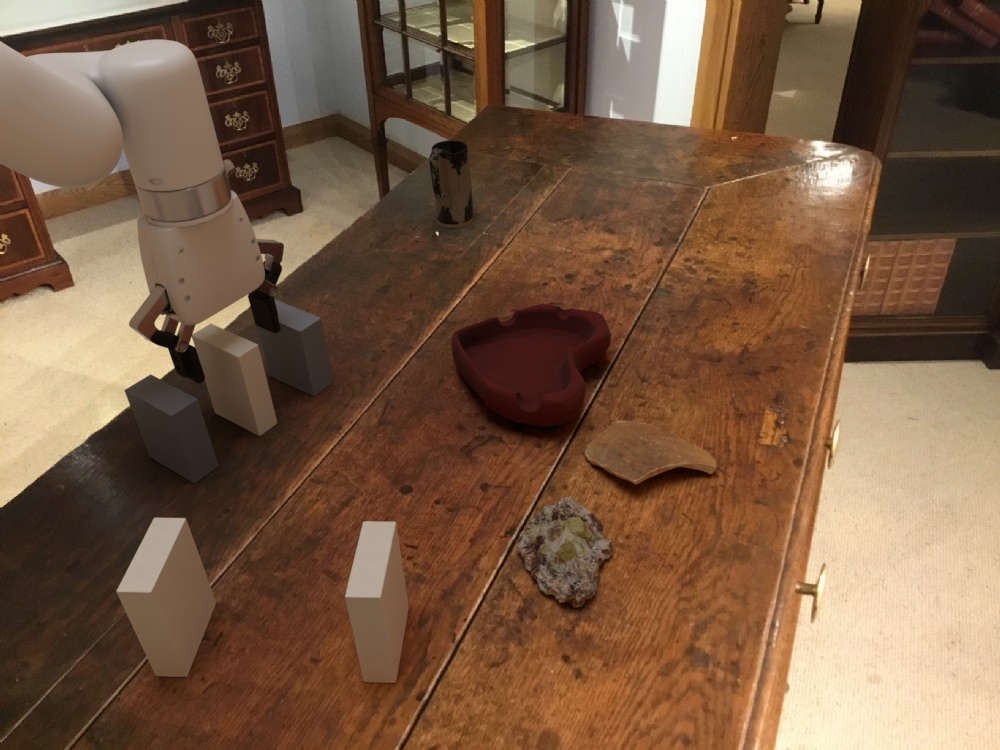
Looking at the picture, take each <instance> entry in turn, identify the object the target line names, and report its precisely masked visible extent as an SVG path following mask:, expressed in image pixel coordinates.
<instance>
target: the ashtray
mask: <svg viewBox="0 0 1000 750" xmlns="http://www.w3.org/2000/svg"><path fill="white" fill-rule="evenodd" d="M611 339H612V335H611V331H610V327H609V325H608V322H607V320H606V318H605V317H604V315H603V314H601V313H599V312H597V311H594V310H593V311H592V310H586V309H577V308H570V309H564V308H561V307H560V306H559V305H554V304H549V303H539V304H535V305H532V306H528V307H525V308H520V309H518V310H515V311H514V312H513V314H512V316H511V318H509V319H508V320H505V321H501V320H500V319H499V317H498V316H493V317H491V318H488V319H485V320H482V321H478V322H476V323H473V324H470V325H467V326H465V327H461V328H460V329H458V330H456V331H454V332H453V333H452V336H451V352H452V359H453V362H454V365H455V368H456V370H457V373H458V374H459V376H461V377H462V379H463V380H464V381H465V382H466V383H467V384H468V385H469V386H470V388H472V390H473V391H474V392H475V394H477V395H478V396H479V397H480V398H481V400H482V401H483V403H484V404H485V405H486V407H487V408H489V409H490V410H491V411H493V412H494V413H496V414H497V415H499V416H501V417H503V418H505V419H507V420H509V421H512V422H514V423H518V424H524V425H530V426H534V428H535V429H537V430H538V431H541V432H546V433H548V432H555V431H557V430H559V429H561V427H562V425H565V424H566V423H568V422H570V421H572V420H573V419H575V418H576V417H577V416H578V415H579V413H580V412H581V410H582V409H583V406H584V401H585V398H586V382H585V379H584V377H583V376H582V374H581V373H582V372H583V371H584V369H586V368H587V367H589V366H591V365H593V364H595V363H597V362H598V361H599V360H601V359H602V358H603V356H605V354H606V353H607V351H608V350H609V348H610V346H611Z"/></svg>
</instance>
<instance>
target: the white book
mask: <svg viewBox="0 0 1000 750" xmlns="http://www.w3.org/2000/svg"><path fill="white" fill-rule="evenodd" d="M191 340H192V342H193V345H194V347H195V348H196V350H197V353H198V356H199V360H200V363H201V366H202V369H203V372H204V375H205V380H204V382H205V386H206V389H207V393H208V396H209V398H210V403H211V405H212V409H213V412H214V414H216V415H218V416H220V417H222V418H224V419H225V420H227V421H230V422H232V423H233V424H235V425H237V426H238V427H241V428H243V429H245V430H246V431H248V432H251V433H253V434H254V435H256V436H258V437H261V436H262V435H263V434H265V433H266V432H268V431H269V430H271V429H272V428H273V427H274V426H276V425H277V424H278V419H277V416H276V410H275V408H274V404H273V398H272V395H271V390H270V388H269V383H268V379H267V375H266V371H265V366H264V364H263V359H262V355H261V351H260V347H259V344H258V343H255V342H253V341H251V340H249V339H247V338H244V337H242V336H241V335H237V334H236V333H233V332H232V331H229V330H227V329H224V328H222V327H220V326H218V325H216V324H213V323H209V324H208V325H206V326H204V327H203V328H200V329H199V330H197V331H196V332H193V334H192V337H191Z"/></svg>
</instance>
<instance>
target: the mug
mask: <svg viewBox="0 0 1000 750" xmlns="http://www.w3.org/2000/svg"><path fill="white" fill-rule="evenodd" d="M468 148H469V147H468V144H467V143H465V142H464V141H461V140H455V139H454V140H453V139H452V140H442V141H438V142H435V143H434V144H433V145H432V146H431V151H430V154H429V159H428V161H429V162H428V163H429V169H430V178H431V184H432V185H431V186H432V190H433V194H434V197H435V199H434V200H435V201H434V202H435V223H436V224H437V225H438V226H440V227H442V228H445V229H458V228H460V229H461V228H463V227H466V226H469V225H470V224H472V223H473V221H474V204H473V201H474V200H473V189H472V175H471V174H472V173H471V166H470V165H471V164H470V156H469V155H470V154H469V149H468Z"/></svg>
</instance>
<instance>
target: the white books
mask: <svg viewBox="0 0 1000 750" xmlns="http://www.w3.org/2000/svg"><path fill="white" fill-rule="evenodd" d="M194 539H195V538H194V537H193V534H192V531H191V528H190V526H189V522H188V520H187V518H186V517H154V518H153V519H152V521H151V523H150V525H149V526H148V528H147V531H146V533H145V534H144V537H143V538H142V541H141V543H140V544H139V546H138V548H137V550H136V552H135V554H134V556H133V557H132V560H131V562H130V564H129V565H128V568H127V570H126V572H125V573H124V576H123V577H122V579H121V581H120V583H119V585H118V587H117V589H116V591H115V593H116V594H117V596H118V598H119V601H120V603H121V605H122V607H123V610H124V611H125V613H126V616H127V617H128V620H129V623H130V624H131V626H132V629H133V630H134V632H135V636H136V637H137V639H138V641H139V644H140V645H141V648H142V650H143V652H144V654H145V656H146V658H147V661H148V663H149V665H150V667H151V669H152V671H153V673H154V675H155V677H171V678H172V677H174V678H188V676H189V674H190V671H191V669H192V666H193V664H194V661H195V659H196V656H197V653H198V651H199V649H200V646H201V643H202V642H203V638H204V636H205V633H206V630H207V628H208V626H209V623H210V620H211V617H212V615H213V612H214V610H215V608H216V605H217V599H216V597H215V595H214V592H213V589H212V586H211V583H210V580H209V577H208V575H207V573H206V569H205V567H204V564H203V561H202V559H201V555H200V554H199V550H198V548H197V545H196V542H195V540H194ZM352 561H353V562H352V564H351V565H352V566H351V569H350V574H349V578H348V581H347V586H346V590H345V594H344V599H345V600H344V601H345V604H346V608H347V613H348V617H349V623H350V626H351V632H352V636H353V640H354V645H355V649H356V652H357V653H356V655H357V658H358V662H359V668H360V672H361V677H362V680H363V683H379V684H381V683H383V684H385V683H386V684H396V683H397V681H398V674H399V670H400V669H399V668H400V663H401V656H402V652H403V651H402V650H403V645H404V639H405V633H406V627H407V622H408V616H409V609H410V605H409V598H408V591H407V585H406V577H405V571H404V566H403V558H402V553H401V545H400V539H399V532H398V525H397V522H396V521H378V520H377V521H376V520H375V521H372V520H370V521H368V520H367V521H365V520H364V521H363V522H362V524H361V528H360V532H359V537H358V541H357V545H356V549H355V553H354V557H353V560H352Z"/></svg>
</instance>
